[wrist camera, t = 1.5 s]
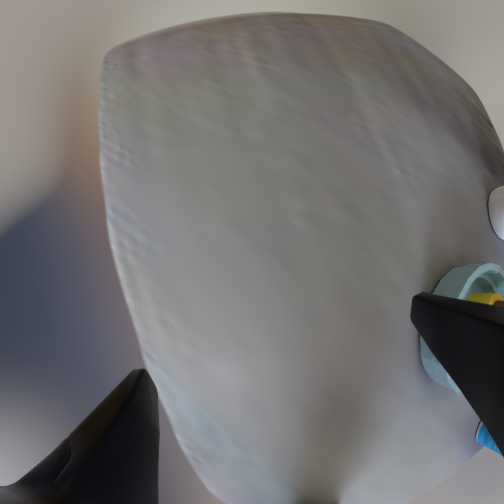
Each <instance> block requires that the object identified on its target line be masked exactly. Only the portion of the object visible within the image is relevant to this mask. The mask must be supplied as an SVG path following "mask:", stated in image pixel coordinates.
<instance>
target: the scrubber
mask: <svg viewBox="0 0 504 504" xmlns="http://www.w3.org/2000/svg"><path fill="white" fill-rule="evenodd" d="M467 300H468V301H474V302H479V303H485V304H490V305H496V306H502V307H504V301H503V298H502V296H501V295H500V294H499V293H473V294H471V295H470V296H469V298H468V299H467Z"/></svg>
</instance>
